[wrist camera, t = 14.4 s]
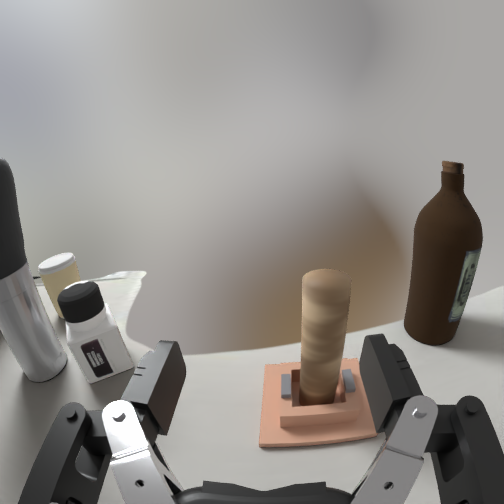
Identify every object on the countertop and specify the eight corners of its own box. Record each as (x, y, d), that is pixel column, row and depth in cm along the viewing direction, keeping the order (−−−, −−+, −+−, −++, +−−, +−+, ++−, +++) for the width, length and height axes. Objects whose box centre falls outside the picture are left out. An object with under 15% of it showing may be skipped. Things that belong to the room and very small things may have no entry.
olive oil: (387, 329, 37) (403, 157, 28) (418, 302, 42) (432, 158, 33) (443, 358, 28) (481, 167, 20) (466, 323, 33) (493, 167, 24)
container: (135, 367, 34) (104, 289, 30) (89, 385, 30) (50, 308, 25) (122, 341, 40) (97, 270, 35) (83, 356, 36) (52, 286, 31)
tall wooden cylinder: (299, 412, 25) (304, 292, 20) (298, 386, 29) (300, 269, 23) (336, 410, 25) (356, 289, 19) (332, 384, 28) (345, 267, 23)
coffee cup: (94, 297, 55) (79, 249, 51) (85, 318, 47) (65, 264, 43) (62, 302, 53) (46, 256, 49) (50, 323, 45) (30, 272, 41)
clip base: (259, 446, 22) (256, 430, 21) (265, 368, 33) (263, 348, 32) (376, 436, 21) (385, 418, 19) (356, 362, 32) (360, 341, 31)
